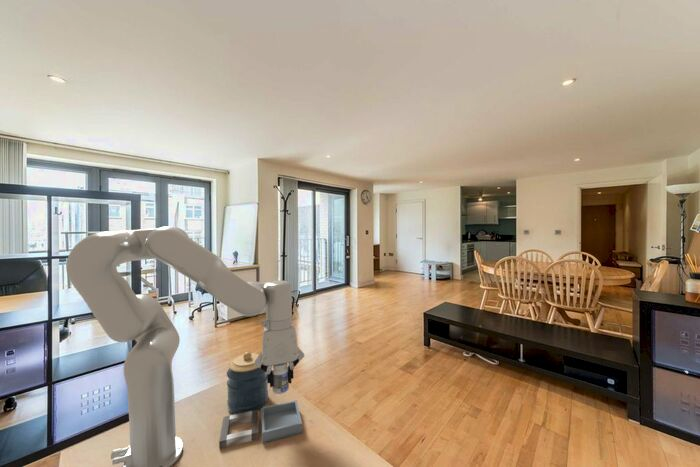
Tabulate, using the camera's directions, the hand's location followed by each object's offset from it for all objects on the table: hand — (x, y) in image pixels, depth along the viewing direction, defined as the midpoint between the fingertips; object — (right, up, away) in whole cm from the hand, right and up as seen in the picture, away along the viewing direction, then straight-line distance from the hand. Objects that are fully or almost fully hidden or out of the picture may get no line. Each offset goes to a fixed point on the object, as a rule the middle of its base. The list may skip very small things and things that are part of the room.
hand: (280, 382), depth 82 cm
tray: (0, -13, 0) cm, 13 cm away
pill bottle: (0, -3, 0) cm, 3 cm away
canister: (-14, -13, +11) cm, 22 cm away
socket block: (-11, -13, -2) cm, 18 cm away
